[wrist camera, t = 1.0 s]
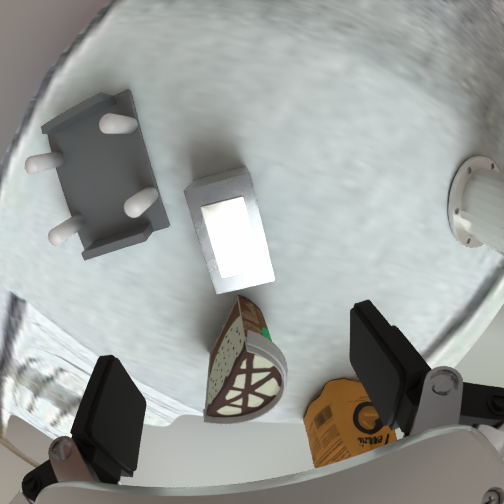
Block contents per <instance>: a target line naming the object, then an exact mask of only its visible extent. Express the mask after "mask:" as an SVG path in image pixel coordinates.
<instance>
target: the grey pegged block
mask: <svg viewBox="0 0 504 504" xmlns="http://www.w3.org/2000/svg"><path fill="white" fill-rule="evenodd" d="M41 129H42V133H43V134H48V139H49V143H50V147H51V151H52V153H46V154H41V155H35V156H30V157H28V158H27V160H26V162H25V169H26V172H27V173H28V174H34V173H38V172H41V171H45V170H48V169H52V168H56V170H57V173H58V177H59V180H60V183H61V186H62V190H63V193H64V196H65V199H66V202H67V205H68V208H69V210H70V213H71V216H72V217H71V218H69V219H68V220H66V221H64V222H63V223H61V224H60V225H58V226H56V227H55V228H53V229H52V230H50V231H49V234H48V238H49V241H50V243H51V244H52V245H54V246H59V245H60V244H62V243H63V242H64V241H66V240H67V239H68V238H70V237H71V236H72V235H74V234H75V233H76V232H78V234H79V237H80V239H81V242H82V244H83V247H84V249H85V250H84V251H83V252H82V253H81V254H82V256H83V258H84V261H85V260H88V259H91V258H94V257H97V256H100V255H103V254H106V253H109V252H112V251H116V250H119V249H122V248H125V247H128V246H132V245H135V244H138V243H141V242H145V241H146V240H147V239H148V238H149V236H150V235H151V234H152V232H154V231H157V230H161V229H164V228H167V227H169V225H170V224H169V221H168V218H167V215H166V212H165V209H164V206H163V203H162V200H161V197H160V194H159V190H158V187H157V184H156V181H155V178H154V174H153V171H152V168H151V164H150V161H149V158H148V154H147V151H146V147H145V144H144V140H143V136H142V133H141V129H140V125H139V122H138V118H137V114H136V110H135V106H134V102H133V98H132V94H131V91H130V90H126V91H124V92H121V93H119V94H117V95H115V96H110V95H107V94H104V93H99V94H97V95H95V96H93V97H91V98H89V99H88V100H86V101H84V102H82V103H80V104H78V105H76V106H74V107H73V108H71V109H69V110H67V111H66V112H64V113H62V114H61V115H59V116H57V117H56V118H54V119H52V120H51V121H49V122H47V123H46V124H44V125H43V126H41Z"/></svg>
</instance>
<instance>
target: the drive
mask: <svg viewBox="0 0 504 504" xmlns="http://www.w3.org/2000/svg"><path fill="white" fill-rule="evenodd" d="M184 193H185V196H186V200H187V203H188V207H189V210H190V213H191V216H192V220H193V223H194V226H195V229H196V233H197V236H198V239H199V242H200V245H201V248H202V251H203V255H204V258H205V261H206V264H207V267H208V270H209V273H210V276H211V279H212V282H213V285H214V288H215V291H216V293H217V294H222V293H226V292H230V291H234V290H239V289H243V288H247V287H251V286H255V285H260V284H264V283H268V282H272V281H275V278H274V274H273V269H272V265H271V261H270V256H269V252H268V247H267V243H266V239H265V234H264V230H263V226H262V222H261V217H260V213H259V209H258V205H257V200H256V196H255V192H254V188H253V184H252V179H251V175H250V173H249V171H248V169H247V168H246V166H245V167H241V168H237V169H233V170H229V171H225V172H221V173H217V174H213V175H210V176H206V177H202V178H199V179H195V180H193V181H192V182H191V183H190V185H189V186H188V187H187V188H186V189H185V190H184Z"/></svg>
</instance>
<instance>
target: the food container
mask: <svg viewBox="0 0 504 504" xmlns="http://www.w3.org/2000/svg"><path fill="white" fill-rule="evenodd" d="M287 371H288V370H287V362H286V359H285V357H284V355H283V353H282V352H281V350H280V349H279V348H278V347H277V346H276V345H275V344H274V343H273V342H272V340H271V337H270V334H269V331H268V328H267V325H266V323H265V320H264V317H263V314H262V313H261V311H260V309H259V308H258V307H257V306H256V305H255V304H254V303H253V302H251V301H250V300H248V299H246V298H245V297H242V296H240V295H238V296H237V298H236V300H235V302H234V304H233V306H232V308H231V310H230V312H229V315H228V317H227V319H226V321H225V323H224V325H223V327H222V329H221V331H220V334H219V336H218V338H217V340H216V342H215V344H214V346H213V348H212V350H211V352H210V358H209V368H208V379H207V391H206V403H205V409H204V410H203V415H204V422H206V423H211V424H236V423H242V422H247V421H250V420H253V419H256V418H258V417H261V416H263V415H264V414H266V413H268V412H269V411H270V410H272V409H273V408H274V407H275V406H276V405H277V404H278V403H279V401H280V400H281V398H282V396H283V394H284V391H285V388H286V384H287Z"/></svg>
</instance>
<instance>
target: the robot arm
mask: <svg viewBox="0 0 504 504" xmlns="http://www.w3.org/2000/svg"><path fill="white" fill-rule="evenodd" d="M448 215H449V223H450V227H451V230H452V232H453V235H454V236H455V238H456V239H457V240H458V241H459V242H460V243H461V244H463V245H465V246H466V247H470V248H474V247H478V246H481V245H482V244H486V245H487V246H489V247H491V248H492V249H494V250H496V251H497V252H499V253H501V254H502V255H504V174H503V173H501V172H500V170H499V168H498V166H497V165H496V164H495V162H494V161H492V160H491V159H490V158H487V157H484V156H473V157H471V158H469V159H468V160H467V161H465V162H464V163H463V165H462V166H461V167H460V168H459V170H458V172H457V174H456V176H455V178H454V181H453V183H452V187H451V191H450V196H449V204H448ZM350 362H351V365H352V367H353V369H354V370H355V372H356V374H357V376H358V378H359V380H360V381H361V383H362V385H363V387H364V389H365V391H366V393H367V395H368V396H369V398H370V400H371V402H372V404H373V406H374V408H375V410H376V412H377V414H378V415H379V417H380V419H381V421H382V423H383V425H384V426H389V428H390V429H391V431H393V430H395V429H397V428H399V427H400V429H401V431H402V432H404V436H403V438H402V439H399V440H397V441H394V442H392V443H389V444H386V445H384V446H381V447H379V448H376V449H374V450H371V451H368V452H366V453H363V454H360V455H357V456H354V457H351V458H348V459H345V460H342V461H339V462H336V463H333V464H329V465H326V466H323V467H319V468H315V469H312V470H308V471H304V472H300V473H296V474H291V475H286V476H282V477H277V478H272V479H266V480H260V481H254V482H247V483H239V484H230V485H220V486H208V487H180V488H165V487H164V488H163V487H141V486H140V487H139V486H127V485H123V484H122V482H121V481H120V476H125V477H133V471H135V470H136V469H137V462H138V455H139V448H140V441H141V435H142V428H143V422H144V416H145V411H146V400H145V398H144V397H143V395H142V394H141V392H140V391H139V390H138V388H137V387H136V385H135V384H134V382H133V381H132V379H131V378H130V376H129V375H128V373H127V372H126V370H125V368H124V367H123V365H122V364H121V362H120V360H119V359H118V358H115V357H114V356H113V355H105V356H100V357H99V358H98V360H97V363H96V365H95V367H94V370H93V372H92V375H91V377H90V380H89V382H88V385H87V387H86V390H85V392H84V395H83V398H82V400H81V403H80V406H79V408H78V411H77V414H76V417H75V420H74V423H73V426H72V429H71V432H70V433H71V434H72V438H70V437H68V436H61V437H58V438H56V439H55V440H54V441H53V442H52V443H51V445H50V447H49V451H48V454H49V460H47V461H46V462H44V463H43V464H41V465H40V466H38V467H37V468H35V469H34V470H32V471H31V472H29V473H28V474H27V475H26V476H25V477H24V479H23V481H22V490H23V492H21V491H19V492H18V493H17V494H16V496H15V497H14V498H13V499H12V501H11V502H10V503H9V504H504V388H501V387H494V386H486V385H479V384H472V383H466V382H463V379H462V377H461V375H460V373H459V372H458V371H457V370H455V369H453V368H451V367H447V366H440V367H436V368H434V369H431V368H430V367H429V365H428V364H427V363H426V362H425V360H424V359H423V358H422V357H421V355H420V354H419V353H418V352H417V350H416V349H415V348H414V347H413V345H412V344H411V343H410V342H409V341H408V339H407V338H406V337H405V336H404V334H403V333H402V332H401V331H400V330H399V328H397V327H396V326H394V325H393V326H391V325H390V324H389V323H388V322H387V320H386V319H385V318H384V317H383V315H382V314H381V313H380V312H379V311H378V310H377V308H376V307H375V306H374V305H373V304H372V302H371V301H370V300H365V301H362V302H359V303H355V304H354V308H352V309H351V310H350Z"/></svg>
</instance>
